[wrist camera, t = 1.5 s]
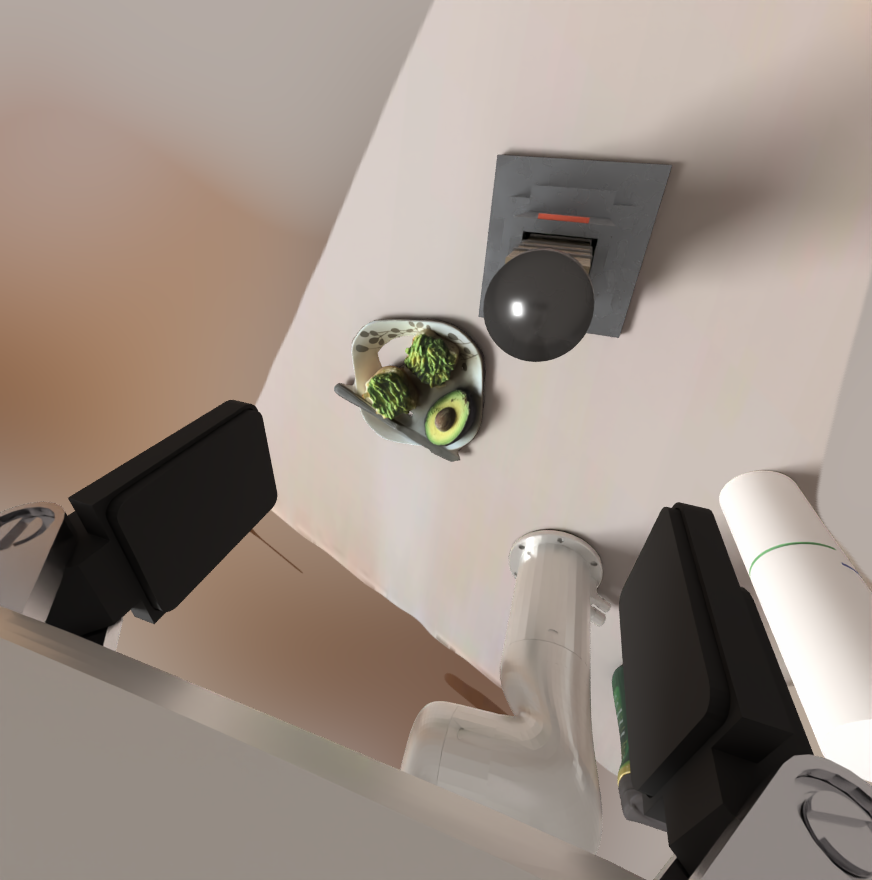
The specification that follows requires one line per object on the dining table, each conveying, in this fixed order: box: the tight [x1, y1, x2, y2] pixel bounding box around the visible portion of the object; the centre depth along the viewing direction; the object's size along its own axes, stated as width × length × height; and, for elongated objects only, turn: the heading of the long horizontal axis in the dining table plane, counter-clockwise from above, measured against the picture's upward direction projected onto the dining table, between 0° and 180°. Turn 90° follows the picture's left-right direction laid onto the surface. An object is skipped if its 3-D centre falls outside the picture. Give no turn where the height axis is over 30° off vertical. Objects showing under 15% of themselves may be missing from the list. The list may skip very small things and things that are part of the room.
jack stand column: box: [483, 232, 594, 362], centre depth 29 cm, size 5×5×22 cm
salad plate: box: [334, 319, 485, 462], centre depth 50 cm, size 19×18×5 cm
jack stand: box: [479, 155, 672, 338], centre depth 33 cm, size 14×14×13 cm
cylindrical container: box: [719, 470, 872, 782], centre depth 35 cm, size 7×7×25 cm
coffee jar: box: [612, 665, 667, 832], centre depth 57 cm, size 10×8×19 cm
